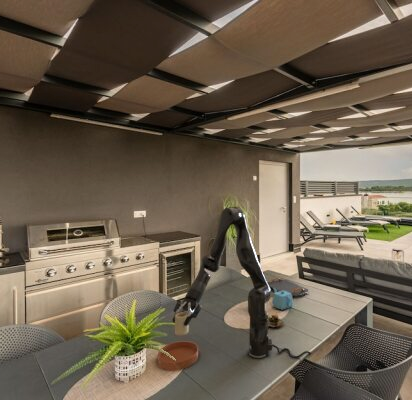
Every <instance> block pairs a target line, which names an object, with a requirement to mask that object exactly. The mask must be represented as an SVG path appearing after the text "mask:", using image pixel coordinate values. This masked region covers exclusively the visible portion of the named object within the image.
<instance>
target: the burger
mask: <svg viewBox="0 0 412 400" xmlns="http://www.w3.org/2000/svg"><path fill="white" fill-rule="evenodd" d="M268 327H271V328H277V329H281V327H284V321H283V319H282V318H280V317H279V315H278V314H277V311H276V313H273V314H271V315H270V316H269V315H268Z"/></svg>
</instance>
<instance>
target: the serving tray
mask: <svg viewBox="0 0 412 400" xmlns="http://www.w3.org/2000/svg"><path fill="white" fill-rule="evenodd" d="M267 284H268V286H269V288H270V289H273V288H275V289H276V291H277V292H280V291H287V292H289V293H291V295H292V297H295V296H300V295H305V294H306V293H307V292H308V293H309V292H310V289H308V288H305V287H304V286H301V285H299V284H296V283H294V282H293V281H289V280H288V279H282V278H280V277H274V278H272V279H271V280H270V281H267ZM273 290H274V289H273Z"/></svg>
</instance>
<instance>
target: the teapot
mask: <svg viewBox="0 0 412 400" xmlns="http://www.w3.org/2000/svg"><path fill="white" fill-rule="evenodd" d="M273 291H274V294H273V296H272V301H271V303H272V304H271V305H272V307H274V308H276V309H278V310H280V309H282V310H281V311H285V310H287V309H290V308H291V307H293V305H294V300H293V299H294V298H293V296H292V295H291V293H289V292H287V291H280V292H278V291H276V289H275V288H273ZM286 308H287V309H286Z"/></svg>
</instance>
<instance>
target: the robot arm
mask: <svg viewBox="0 0 412 400" xmlns="http://www.w3.org/2000/svg"><path fill="white" fill-rule="evenodd" d="M246 221H247V220H246V216H245V214H244V211H243V210H242V208H240V207H239V206H229V207H224V209H223V210H222V211H221V213H220V216H219V219H218V223H217V226H216V227H217V228H216V232H215V234H214V235H215V236H214V238H213V241H212V244H211V246H210V247H209V250H208V254H209V255H205V256H203V257H202V258H201V261H200V265H199V270H198V271H197V272H198V273H197V275H196V276H195V278H194V280H193V282H192V283H191V285H190V287H189V289H187V292H186V294H185V297H184V299H183V300H181V299H178V300H177V301H176V304H175V306H174V308H173V313H175V314H174V316H173V317H172V323H174V324H175V315H176V314H177V313H180V312H187V313H188V317H187V318H186V320H185V322H184V325H185V326H187V325H188V324H189V325H190V322H191V321H192V320H193V319H196V318H197V316H198V315H199V313H200V312H201V310H202V308H203V307H202V305H201V304H199V303H200V301H201V299H202V297H203V295H204V293H205V291H206V289H207V287H208V285H209V282H210V280H211V274H209V273H208V272H207V271H210V272H211V273H217V272H218V271H219V269H220V267H221V260H222V255H223V253H224V251H225V249H226V245H227V233H228V230H229V229H230V228H231V226H233V227H234V230H235V233H236V241H235V242H236V243H235V253H236V257H237V259H238V263H239V264H240V266H241V267H242V269H243V270H244V272H246V273H247V274H248V276H249V277H250V279H251V282H252V285H253V288H251V289H250V290H249V292H248V295H247V312H248V316H249V334H248V335H249V336H248V337H249V339H248V340H249V341H248V344H247V345H248V355H249V357H251V358H252V359H253V358H254V359H263V358H266V357H269V352H270V351H271V352H272V351H273V348H275V349H276V350H277V353H278V354H282V353H283V352H284V351H287V352H288V355H289V357H290V358H292V359H298V358H300V357H302V356H303V355H305V354H309V355H311V354H312V353H311V351H308V350H304V351H303V352H302V353H300V354H298V355H292V353H291V351H290V349H289V348H286V347H284V348H282V349H281V350H280V348H279V347H278V346H277V345H275V344H273V341H272V338H269V326H268V318H269V312H268V311H267V310H266V304H267V303H268V302H269V301H270V300H271V297H272V291H271V288H270V287H269V286H268V284H267V283H268V281H267V279H266V277H265V275H264V273H263V270H262V267H261V264H260V262H259V259H258V256H257V253H256V250H255V247H254V245H253V243H252V239H251V236H250V233H249V229H248V225H247V222H246ZM206 270H207V271H206Z"/></svg>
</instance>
